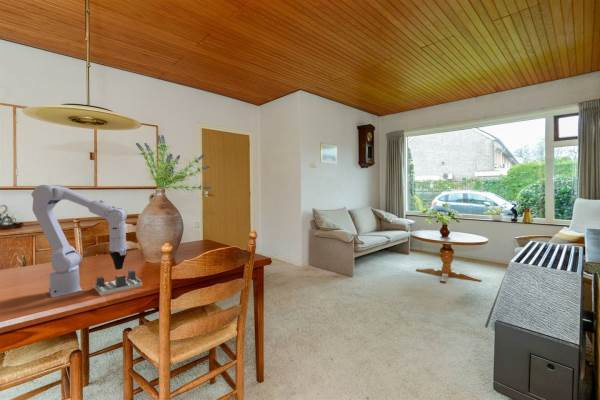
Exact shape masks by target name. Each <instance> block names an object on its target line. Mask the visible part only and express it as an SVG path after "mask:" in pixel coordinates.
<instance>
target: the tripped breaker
mask: <svg viewBox="0 0 600 400" xmlns="http://www.w3.org/2000/svg"><path fill="white" fill-rule="evenodd" d="M126 278H127V276H126V275H125V274H118V275H115V279H114V281H115V284H116V286H117V287H121V286H125V285H126Z"/></svg>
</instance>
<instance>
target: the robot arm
mask: <svg viewBox="0 0 600 400" xmlns="http://www.w3.org/2000/svg"><path fill="white" fill-rule="evenodd" d="M31 197H32V208H31V209H32V212H33V214H34V216H35V218H36V221H37V222H38V224H39V226H40V229H41V230H42V232H43V234H44V236H45V239H46V240H47V242H48V245H49V246H50V248H51V250H52V252H51V254H50V257H49V258H50V260H51V268H52V270H54V272H50V273H48V284H49V285H48V286H49V287H48V292H49V294H50V297H51V298H57V297H61V296H66V295H71V294H74V293H79V292H82V291H83V289H82V287H81V286H80V264H81V263H82V260H83V257H82V255H81V254H80V252H78V251H77V250H76V248H75V247H73V246H72V245H70V244H69V242H68V240H67V237H66V235H65V233H64V232H63V230H62V227H61V225H60V223H59V221H58V219H57V216H56V215H55V213H54V211H53V209H54V208H55V207H56V205H57V204H58V203H60V202H61V201H62V200H68V201H70V202H73V203H74V204H77V205H80V206H82V207H85V208H88V211H89V213H92V215H96V216H99V217H100V218H103V219H106V221H107V223H109V224H108V225H109V228H108V229H109V252H110V253H109V255H110V257H111V259H112V261H113V265H114V269H115V270H116V271H117V270H122V269H123V267H124V263H125V259H126V258H127V255H128V252H127V249H130V246H129V245H127V234H126V233H127V232H126V230H127V229H126V219H127V218H128V213H127V211H126V210H125V209H123V208H121V207H118V208H117V205H111V204H108V203H107V202H106V201H105V200H104V199H101V200H100V199H95V200H92V199H90V198H88V197H86V196H84V195H83V194H81V193H78V192H76V191H74V190H72V189H71V188H68V187H65V186H62V185H61V184H60V185H59V184H55V185H54V184H51V185H48V184H47V185H46V184H40V185H38V186H36V187H35V188H34V189H33V191H32V193H31Z"/></svg>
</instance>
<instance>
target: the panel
mask: <svg viewBox="0 0 600 400" xmlns="http://www.w3.org/2000/svg"><path fill="white" fill-rule="evenodd" d="M127 275H128V276H126V285H125V286H121V287H117V286H116V284H115V280H112V281H111V280H109V281H107V282H105V278H104V276H97V277H96V283H95V284H94V285H93V286H94V287H93V288H94V290H95V291H96V292H97V293H98V295H99V296H100V297H101V296H105V295H110V294H114V293H118V292H121V291H126V290H129V289H134V288H139V287H143V282H142V280H141V279H140V278H138V277H137V276H136V271H135V270H132V269H131V270H128V273H127Z"/></svg>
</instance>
